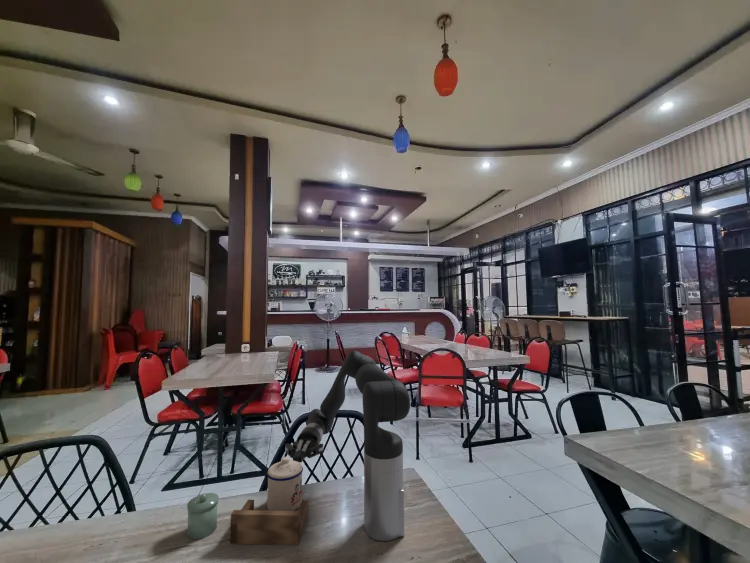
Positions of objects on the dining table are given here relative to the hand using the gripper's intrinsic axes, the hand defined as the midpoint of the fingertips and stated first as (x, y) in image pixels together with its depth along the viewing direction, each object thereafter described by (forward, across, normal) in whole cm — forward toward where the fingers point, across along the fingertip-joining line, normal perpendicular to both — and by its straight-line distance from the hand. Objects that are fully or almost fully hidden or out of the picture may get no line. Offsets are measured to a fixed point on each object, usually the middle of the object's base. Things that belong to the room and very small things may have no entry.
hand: (296, 460), depth 95 cm
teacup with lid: (+10, 0, +6) cm, 11 cm away
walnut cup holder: (+21, 0, +6) cm, 21 cm away
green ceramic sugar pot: (+21, -16, +6) cm, 27 cm away
